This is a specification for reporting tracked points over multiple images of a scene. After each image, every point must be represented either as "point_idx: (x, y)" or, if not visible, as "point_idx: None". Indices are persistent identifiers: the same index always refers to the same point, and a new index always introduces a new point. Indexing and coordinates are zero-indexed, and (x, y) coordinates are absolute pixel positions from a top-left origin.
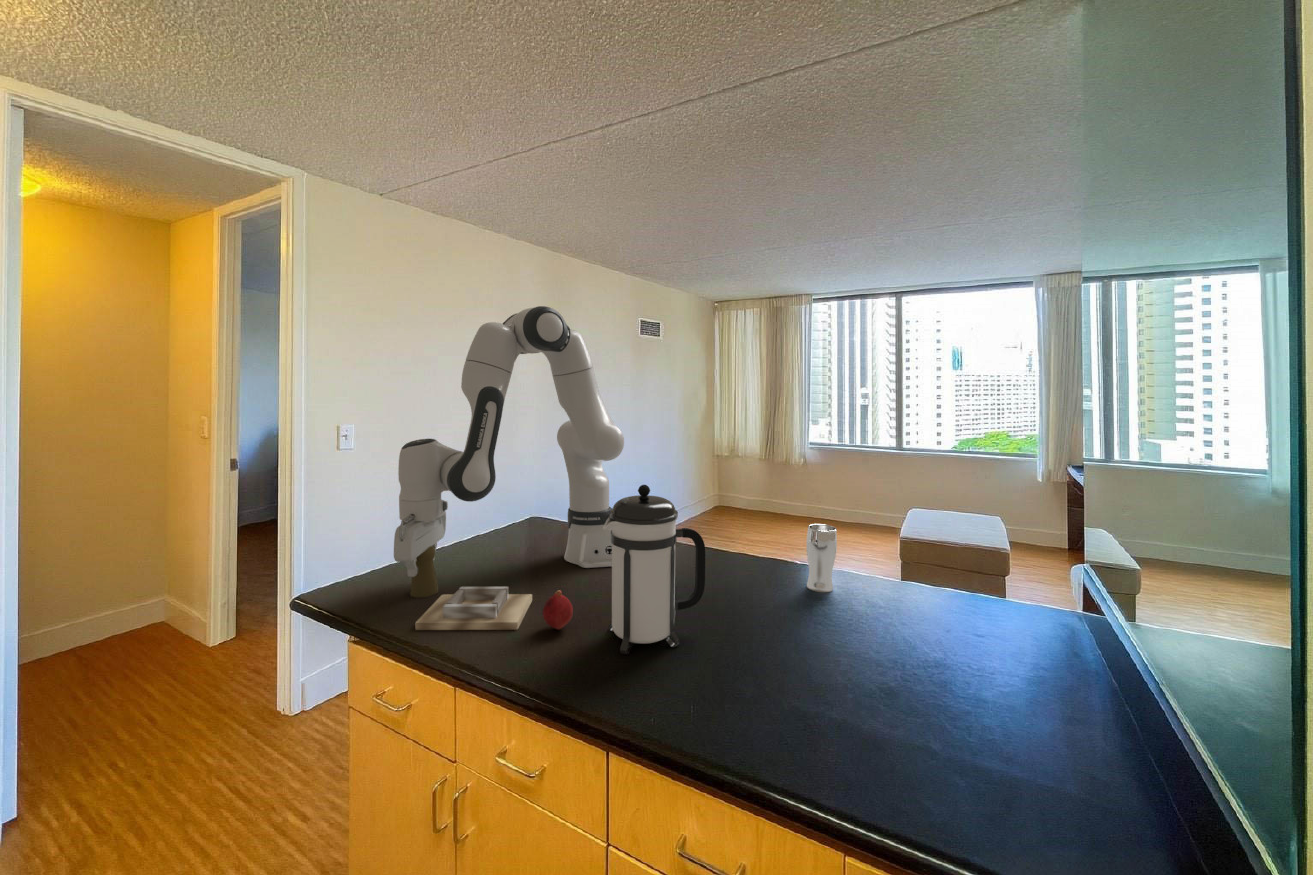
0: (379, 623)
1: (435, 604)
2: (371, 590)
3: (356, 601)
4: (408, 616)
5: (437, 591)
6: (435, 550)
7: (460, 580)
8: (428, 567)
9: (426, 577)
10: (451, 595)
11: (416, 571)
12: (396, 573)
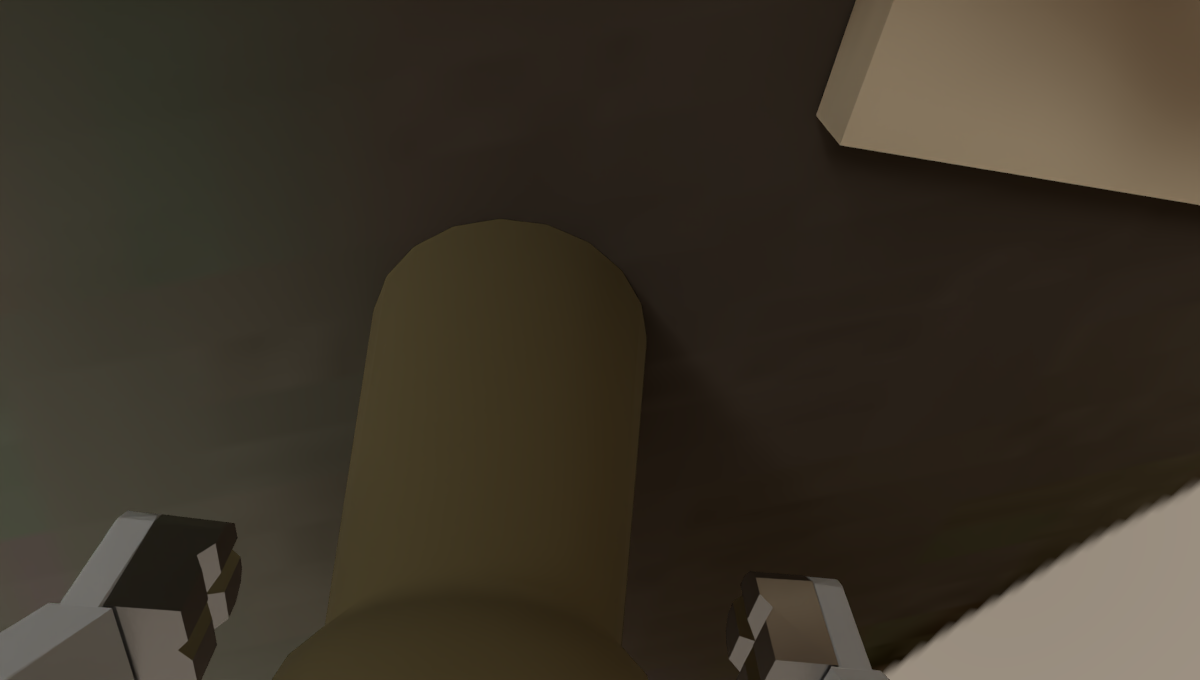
0: (1095, 489)
1: (1145, 160)
2: None
3: None
4: (1077, 343)
5: (523, 225)
6: (4, 647)
7: (103, 6)
8: (590, 524)
9: (620, 439)
10: (930, 8)
11: (823, 619)
12: None
